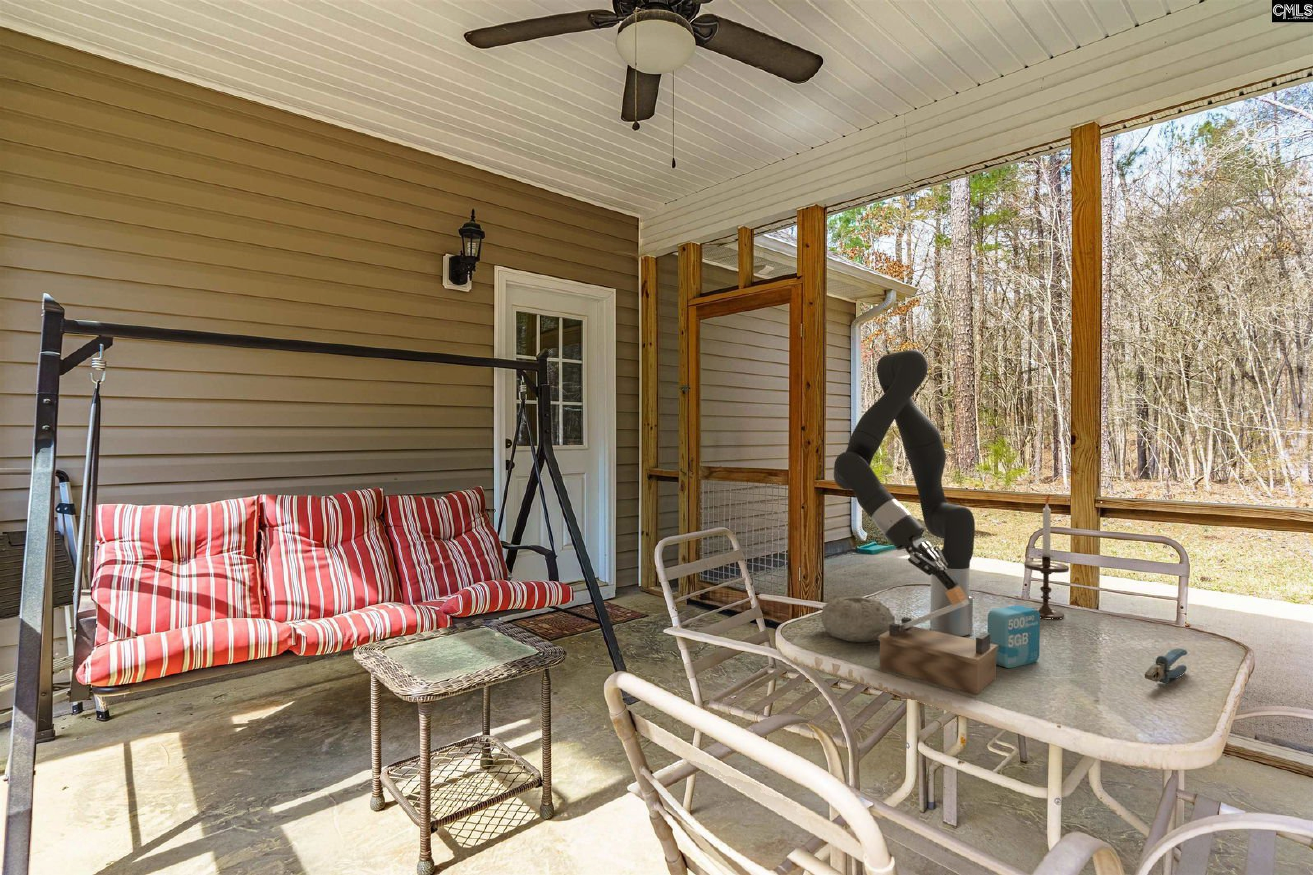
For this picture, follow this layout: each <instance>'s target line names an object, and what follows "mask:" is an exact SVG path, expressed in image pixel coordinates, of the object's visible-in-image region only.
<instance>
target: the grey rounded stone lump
mask: <svg viewBox="0 0 1313 875" xmlns="http://www.w3.org/2000/svg"><path fill="white" fill-rule="evenodd" d="M820 620H821V623H822V625H823V628H824V629H825V631H826V632H828V634H829V635H831V637H833V638H836V639H839V640H844V641H848V642H851V643H871V642H873V641H878V636H879V635H881V634H883V633H885V632H887V631H889V625H890V624H891V623H895V624H896V616H894V615H893V613H892V612H891V610H890V608H889V607H887V606H886V605H885V604H883V603H882V602H880V601H879V600H876V599H874V598H873V599H872V598H871V599H870V598H868V597H864V596H857V595H856V596H849V597H845V596H844V597H839V596H838V597H835V598H832V599H831V600H829V601H828V602H827V603H826V604H825V605H823V606H822V611H821V614H820Z"/></svg>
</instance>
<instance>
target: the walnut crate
mask: <svg viewBox="0 0 1313 875" xmlns="http://www.w3.org/2000/svg"><path fill="white" fill-rule="evenodd" d="M911 620H912V618H911V617H910V618H909V617H906V616H903V617H902V618H901V623H906V622H909V621H911ZM901 623H900V624H901ZM900 624H899V623H896V622H895V623H891V624H890V625H889V631H887V632H885V633H883V634H881V635H879V636H878V640H877V641H878V642H879V668H880V669H882V670H887V671H890V672H894V673H897V674H902V675H904V676H909V677H912V678H917V679H920V680H923V681H926V682H931V683H933V684H937V685H940V686H945V687H949V688H952V689H955V690H960V691H962V692H963V691H964V692H967V693H971V694H973V695H974V694H975V695H979V693H981V692H982V691H983V690H984V689H985V688H987V686H988V685H990V684H991V683H992V682H993V681H994V680H995V679H996V678H997V664H996V651H997V650H998V645H996V644H991V643H990V633H987V632H985V631H983V632H982V633H980V634H979V635H977V636H976V637H975V639H972V638H968V637H964V636H955V635H950V634H946V633H941V632H937V631H932V630H931V629H927V628H923V627H917V626H915V625H914V626H912V627H909V628H906V629H904V630H902V631H901V632H900Z"/></svg>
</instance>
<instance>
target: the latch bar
mask: <svg viewBox="0 0 1313 875" xmlns="http://www.w3.org/2000/svg"><path fill="white" fill-rule="evenodd" d="M945 593H946V595H947V597H948V599H949V600H950V602H951V604H952V605H950V606H947V607H945V608H942V609H939V610H937V611H934V612H932V613H930V612H929V613H927V614H924V615H922V616H918V617H917V618H914V619H911V621H909V622H906V623H902V622H901V623H900V632H901V631H902V630H904V629H906V628H909V627H912V626H914V627H915V626H916V625H919V624H922V623H925V622H927V621H930V619H932V618H935V617H938V616H940V615H943V614H945V613H948V612H951V611H953V610H956V609H958V608H961V607H964V606H965V605H967V604H969V601H968V600H967V597H966V596H965V594H964V592H963V590H962V589H961V587H960V585H959V586H957V587H954V588H952V589H950V590H947V591H945Z"/></svg>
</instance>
